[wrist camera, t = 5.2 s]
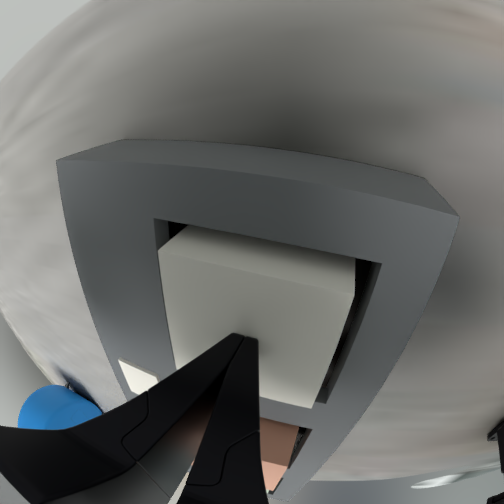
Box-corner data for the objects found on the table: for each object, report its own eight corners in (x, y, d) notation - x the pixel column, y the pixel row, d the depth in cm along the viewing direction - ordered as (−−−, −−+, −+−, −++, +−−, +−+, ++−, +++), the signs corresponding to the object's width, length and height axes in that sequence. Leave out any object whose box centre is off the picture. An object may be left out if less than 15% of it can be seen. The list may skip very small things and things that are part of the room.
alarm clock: (55, 365, 31) (-7, 435, 18) (82, 381, 29) (17, 463, 17) (92, 416, 37) (47, 478, 24) (120, 431, 35) (73, 500, 23)
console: (424, 178, 9) (462, 220, 6) (297, 468, 23) (287, 503, 19) (121, 139, 12) (52, 161, 9) (177, 432, 26) (160, 462, 23)
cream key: (354, 235, 10) (354, 294, 7) (324, 344, 12) (311, 408, 9) (209, 208, 11) (157, 250, 8) (211, 315, 14) (176, 369, 11)
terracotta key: (304, 407, 13) (287, 466, 10) (287, 445, 16) (273, 490, 13) (204, 379, 14) (175, 430, 11) (209, 422, 17) (188, 464, 14)
